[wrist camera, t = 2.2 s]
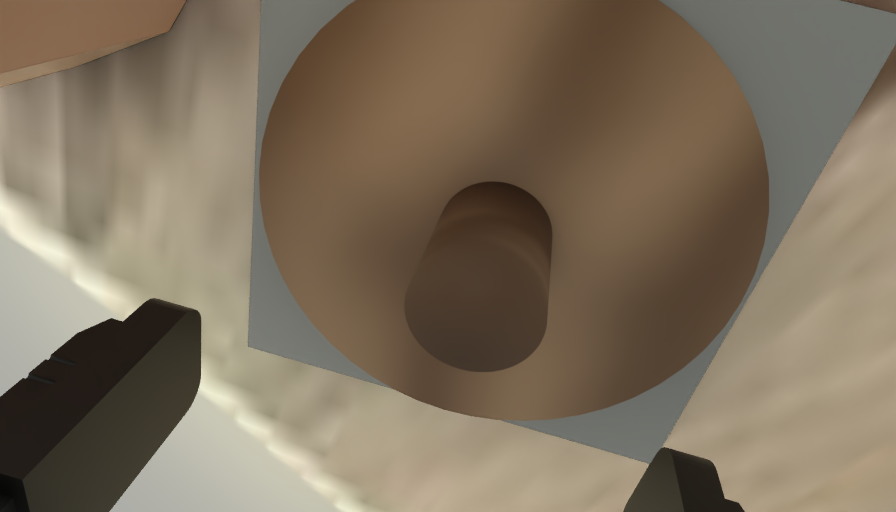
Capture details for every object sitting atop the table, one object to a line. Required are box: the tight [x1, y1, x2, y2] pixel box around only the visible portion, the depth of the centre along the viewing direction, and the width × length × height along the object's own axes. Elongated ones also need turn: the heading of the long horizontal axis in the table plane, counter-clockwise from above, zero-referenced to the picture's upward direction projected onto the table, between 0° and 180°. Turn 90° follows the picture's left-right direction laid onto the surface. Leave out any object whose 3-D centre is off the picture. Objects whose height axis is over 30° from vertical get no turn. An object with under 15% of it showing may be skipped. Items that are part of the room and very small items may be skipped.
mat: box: [248, 0, 896, 464], centre depth 17 cm, size 15×15×1 cm
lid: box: [259, 0, 769, 421], centre depth 15 cm, size 14×14×5 cm
